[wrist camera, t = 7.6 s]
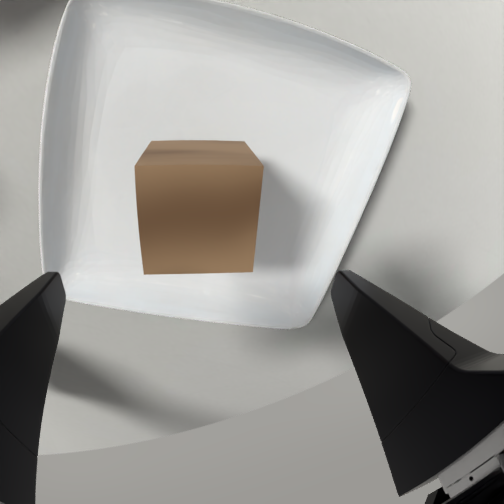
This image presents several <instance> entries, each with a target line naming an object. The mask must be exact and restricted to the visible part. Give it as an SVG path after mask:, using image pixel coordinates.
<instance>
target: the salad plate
mask: <svg viewBox="0 0 504 504" xmlns="http://www.w3.org/2000/svg"><path fill="white" fill-rule="evenodd" d="M411 86H412V81H411V79H410V77H409V75H408V74H407V73H406V72H405V71H404V70H402V69H401V68H399V67H398V66H396V65H394V64H393V63H391V62H389V61H387V60H385V59H384V58H382V57H380V56H378V55H376V54H374V53H372V52H370V51H368V50H366V49H363V48H361V47H359V46H357V45H355V44H352V43H350V42H348V41H345V40H343V39H341V38H338V37H336V36H333V35H331V34H328V33H326V32H323V31H321V30H318V29H315V28H313V27H310V26H307V25H304V24H302V23H299V22H296V21H293V20H290V19H287V18H284V17H280V16H277V15H274V14H271V13H267V12H264V11H260V10H257V9H253V8H249V7H246V6H242V5H238V4H234V3H230V2H225V1H220V0H69V1H68V3H67V6H66V8H65V11H64V13H63V16H62V19H61V22H60V25H59V28H58V32H57V35H56V39H55V43H54V47H53V52H52V56H51V61H50V66H49V72H48V77H47V83H46V90H45V97H44V104H43V115H42V124H41V137H40V155H39V194H38V204H39V238H40V253H41V265H42V272H43V274H45V273H46V272H59V273H60V275H61V279H62V282H63V286H64V289H65V293H66V300H69V301H73V302H78V303H83V304H89V305H95V306H101V307H106V308H112V309H118V310H124V311H131V312H137V313H144V314H150V315H158V316H165V317H173V318H180V319H189V320H197V321H205V322H214V323H222V324H232V325H242V326H251V327H260V328H271V329H297V328H302V327H304V326H306V325H307V324H308V323H309V322H310V321H311V319H312V318H313V316H314V314H315V313H316V311H317V309H318V307H319V305H320V303H321V301H322V300H323V298H324V295H325V294H326V292H327V290H328V287H329V285H330V283H331V281H332V279H333V277H334V275H335V273H336V271H337V269H338V266H339V264H340V262H341V260H342V258H343V256H344V254H345V251H346V249H347V247H348V245H349V243H350V241H351V238H352V236H353V234H354V232H355V230H356V227H357V225H358V223H359V221H360V218H361V216H362V214H363V211H364V209H365V207H366V205H367V202H368V200H369V198H370V195H371V193H372V191H373V188H374V186H375V184H376V181H377V179H378V177H379V174H380V172H381V170H382V167H383V165H384V162H385V160H386V157H387V155H388V153H389V150H390V147H391V145H392V142H393V139H394V137H395V134H396V132H397V129H398V127H399V124H400V121H401V118H402V116H403V113H404V110H405V107H406V104H407V101H408V98H409V95H410V91H411ZM166 140H220V141H245V143H246V144H247V145H248V146H249V148H250V149H251V150H252V151H253V153H254V154H255V155H256V156H257V158H258V159H259V160H260V162H261V163H262V164H263V166H264V170H263V179H262V189H261V199H260V208H259V218H258V228H257V237H256V247H255V256H254V266H253V272H244V273H205V274H153V275H144V272H143V265H142V256H141V247H140V238H139V228H138V216H137V203H136V188H135V168H134V166H135V164H136V163H137V161H138V160H139V158H140V157H141V155H142V154H143V152H144V151H145V149H146V148H147V146H148V145H149V143H150V142H151V141H166Z"/></svg>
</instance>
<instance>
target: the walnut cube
mask: <svg viewBox="0 0 504 504" xmlns="http://www.w3.org/2000/svg"><path fill="white" fill-rule="evenodd" d="M134 168H135V188H136V203H137V216H138V228H139V238H140V247H141V256H142V265H143V272H144V275H153V274H205V273H244V272H253V266H254V256H255V247H256V237H257V228H258V218H259V208H260V199H261V189H262V179H263V170H264V166H263V164H262V163H261V162H260V160H259V159H258V158H257V156H256V155H255V154H254V153H253V151H252V150H251V149H250V148H249V146H248V145H247V144H246V143H245V141H220V140H166V141H151V142H150V143H149V145H148V146H147V148H146V149H145V151H144V152H143V154H142V155H141V157H140V158H139V160H138V161H137V163H136V164H135V166H134Z"/></svg>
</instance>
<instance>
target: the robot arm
mask: <svg viewBox="0 0 504 504" xmlns="http://www.w3.org/2000/svg"><path fill="white" fill-rule="evenodd" d="M331 298H332V301H333V305H334V308H335V312H336V315H337V319H338V323H339V326H340V330H341V333H342V336H343V339H344V341H345V344H346V346H347V349H348V352H349V354H350V357H351V359H352V362H353V365H354V367H355V370H356V372H357V375H358V378H359V380H360V383H361V386H362V388H363V391H364V394H365V397H366V399H367V402H368V405H369V408H370V411H371V413H372V416H373V419H374V422H375V425H376V428H377V430H378V434H379V436H380V439H381V441H382V446H383V448H384V452H385V455H386V458H387V461H388V464H389V467H390V470H391V473H392V477H393V480H394V483H395V486H396V489H397V493H398V495H399V497H400V496H402V495H405V494H407V493H409V492H411V491H413V490H415V489H418V488H420V487H422V486H424V485H426V484H428V483H430V482H431V481H433V480H435V479H437V478H439V480H440V483H441V485H442V487H441V488H439V489H437V490H436V491H434V492H432V493H431V494H429V495H428V497H427V499H426V502H425V504H504V354H496V353H492V352H489V351H487V350H485V349H483V348H481V347H479V346H477V345H476V344H474V343H472V342H470V341H468V340H467V339H465V338H463V337H461V336H459V335H457V334H455V333H454V332H452V331H450V330H448V329H447V328H445V327H444V326H442V325H440V324H438V323H437V322H435V321H434V320H432V319H430V318H428V317H427V316H425V315H424V314H422V313H421V312H419V311H417V310H416V309H414V308H412V307H411V306H409V305H407V304H406V303H404V302H402V301H401V300H399V299H398V298H396V297H394V296H393V295H391V294H389V293H388V292H386V291H384V290H383V289H381V288H379V287H377V286H376V285H374V284H372V283H371V282H369V281H367V280H366V279H364V278H362V277H361V276H359V275H357V274H355V273H354V272H352V271H350V270H339V271H338V272H337V273H336V276H335V279H334V283H333V286H332V289H331ZM65 301H66V293H65V289H64V286H63V282H62V279H61V275H60V273H59V272H46V273H45V274H43V275H42V276H40V277H39V278H37V279H36V280H35V281H33V282H32V283H30V284H29V285H27V286H26V287H25V288H23V289H22V290H20V291H19V292H18V293H16V294H15V295H14V296H12V297H11V298H9V299H8V300H7V301H5V302H4V303H3V304H1V305H0V504H35V489H36V471H37V456H38V446H39V438H40V430H41V423H42V416H43V410H44V404H45V398H46V393H47V388H48V383H49V378H50V374H51V369H52V365H53V360H54V356H55V352H56V348H57V344H58V340H59V335H60V329H61V323H62V317H63V312H64V306H65Z"/></svg>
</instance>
